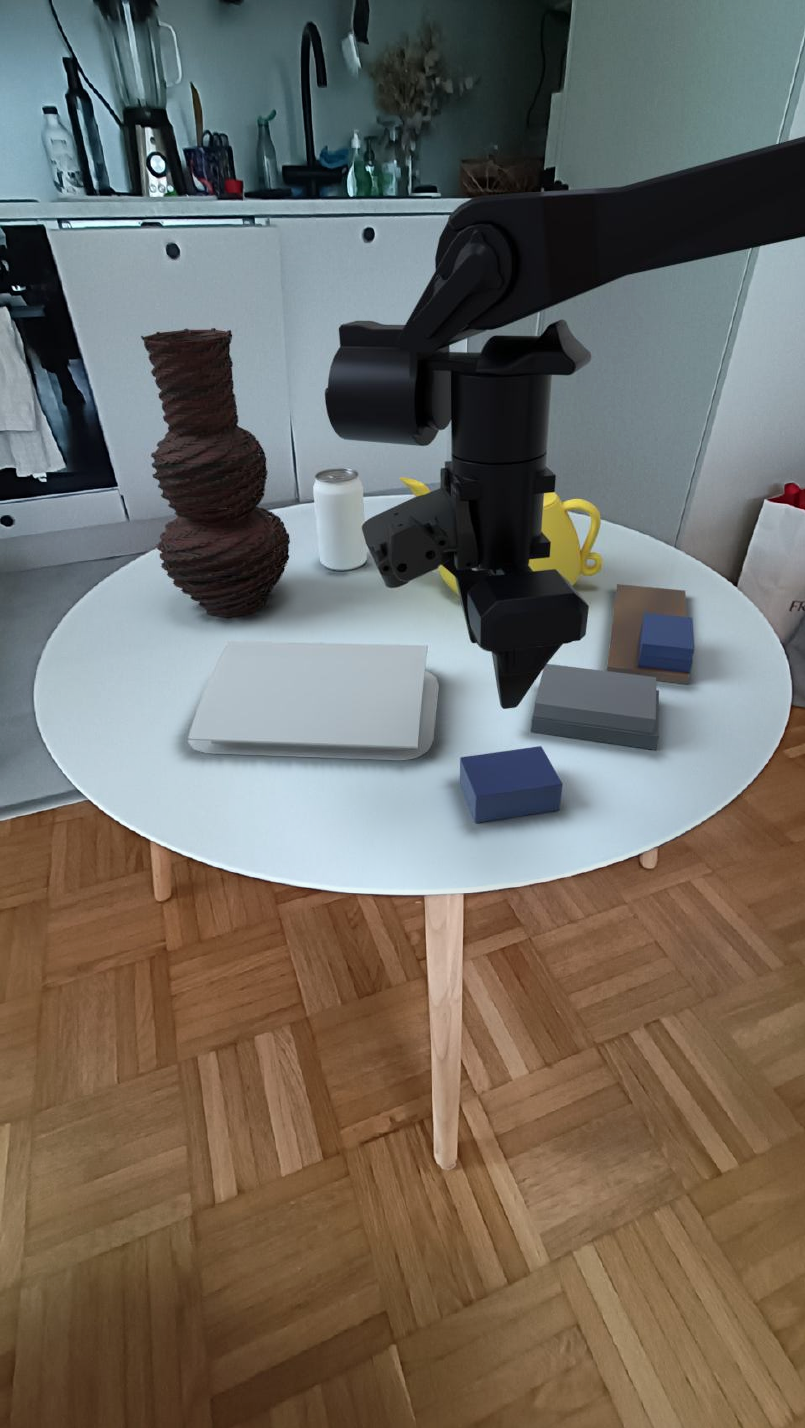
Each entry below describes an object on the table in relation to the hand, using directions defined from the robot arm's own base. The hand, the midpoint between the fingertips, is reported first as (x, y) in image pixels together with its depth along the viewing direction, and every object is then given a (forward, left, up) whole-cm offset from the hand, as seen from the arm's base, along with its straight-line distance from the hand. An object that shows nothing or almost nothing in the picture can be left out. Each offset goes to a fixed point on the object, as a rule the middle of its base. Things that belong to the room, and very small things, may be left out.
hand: (492, 672), depth 52 cm
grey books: (-8, -14, -12) cm, 20 cm away
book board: (-12, -32, -12) cm, 36 cm away
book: (+18, -9, -12) cm, 24 cm away
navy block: (-2, -1, -12) cm, 12 cm away
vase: (+37, -28, -12) cm, 48 cm away
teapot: (+6, -41, -12) cm, 43 cm away
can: (+28, -43, -12) cm, 52 cm away
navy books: (-14, -26, -12) cm, 31 cm away
